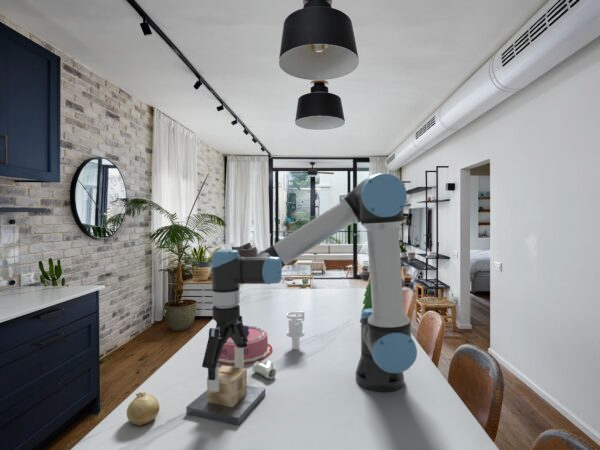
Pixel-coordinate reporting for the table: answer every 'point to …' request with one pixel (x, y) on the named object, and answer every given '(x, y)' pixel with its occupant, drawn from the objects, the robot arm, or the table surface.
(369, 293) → the decorative tree
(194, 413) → the grey piece
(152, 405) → the onion
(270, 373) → the pipe fitting
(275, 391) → the table surface
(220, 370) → the taped cardboard box
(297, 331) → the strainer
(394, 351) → the robot arm
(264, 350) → the cake
